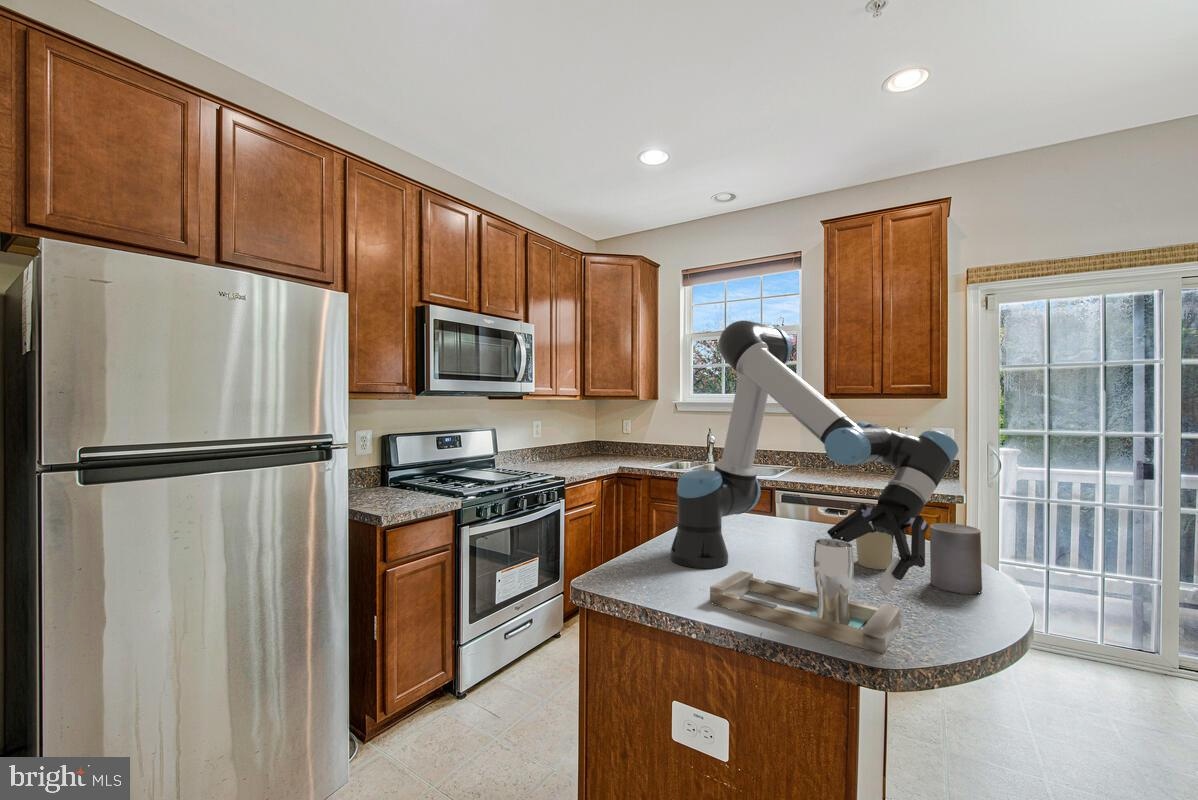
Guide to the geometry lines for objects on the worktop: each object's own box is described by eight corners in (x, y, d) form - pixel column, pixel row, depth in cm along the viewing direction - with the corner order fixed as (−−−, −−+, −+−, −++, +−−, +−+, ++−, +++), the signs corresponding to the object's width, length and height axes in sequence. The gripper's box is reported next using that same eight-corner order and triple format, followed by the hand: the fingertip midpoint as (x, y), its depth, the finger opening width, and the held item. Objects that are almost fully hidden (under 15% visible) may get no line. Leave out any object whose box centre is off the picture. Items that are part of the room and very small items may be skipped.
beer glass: (813, 626, 93) (813, 545, 94) (812, 612, 100) (812, 536, 100) (855, 633, 91) (855, 549, 91) (851, 618, 97) (851, 540, 98)
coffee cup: (902, 570, 127) (902, 523, 127) (865, 570, 128) (865, 522, 128) (882, 559, 137) (882, 515, 137) (847, 559, 137) (848, 514, 137)
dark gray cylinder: (960, 580, 121) (959, 517, 121) (993, 595, 111) (991, 526, 111) (920, 580, 120) (919, 517, 121) (949, 595, 111) (948, 527, 111)
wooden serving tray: (709, 603, 105) (709, 586, 105) (740, 585, 115) (740, 570, 115) (882, 654, 83) (882, 632, 84) (900, 626, 94) (900, 607, 94)
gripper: (979, 520, 92) (923, 615, 86) (863, 497, 115) (812, 571, 109) (959, 492, 90) (900, 588, 84) (845, 475, 113) (792, 548, 107)
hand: (850, 578), depth 97 cm, fingers open, 13 cm apart
